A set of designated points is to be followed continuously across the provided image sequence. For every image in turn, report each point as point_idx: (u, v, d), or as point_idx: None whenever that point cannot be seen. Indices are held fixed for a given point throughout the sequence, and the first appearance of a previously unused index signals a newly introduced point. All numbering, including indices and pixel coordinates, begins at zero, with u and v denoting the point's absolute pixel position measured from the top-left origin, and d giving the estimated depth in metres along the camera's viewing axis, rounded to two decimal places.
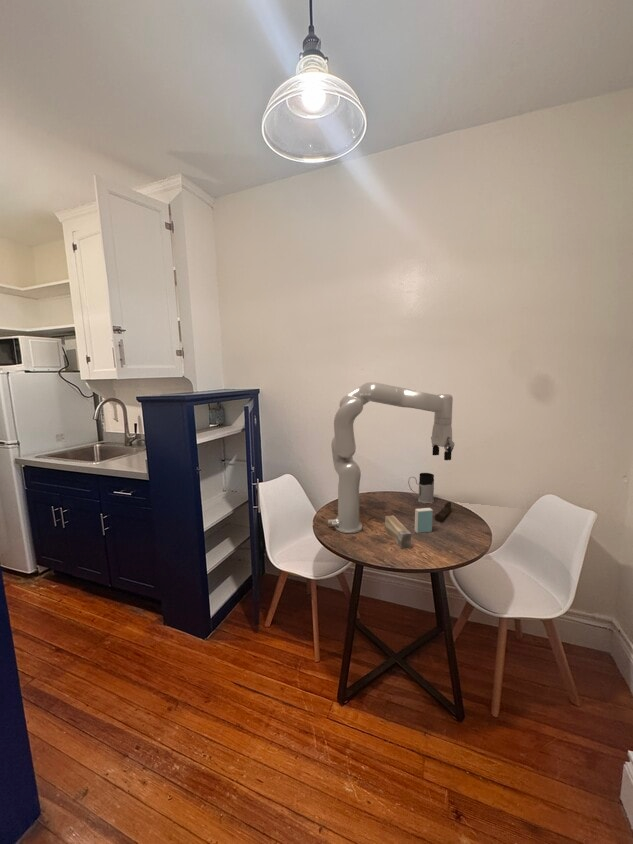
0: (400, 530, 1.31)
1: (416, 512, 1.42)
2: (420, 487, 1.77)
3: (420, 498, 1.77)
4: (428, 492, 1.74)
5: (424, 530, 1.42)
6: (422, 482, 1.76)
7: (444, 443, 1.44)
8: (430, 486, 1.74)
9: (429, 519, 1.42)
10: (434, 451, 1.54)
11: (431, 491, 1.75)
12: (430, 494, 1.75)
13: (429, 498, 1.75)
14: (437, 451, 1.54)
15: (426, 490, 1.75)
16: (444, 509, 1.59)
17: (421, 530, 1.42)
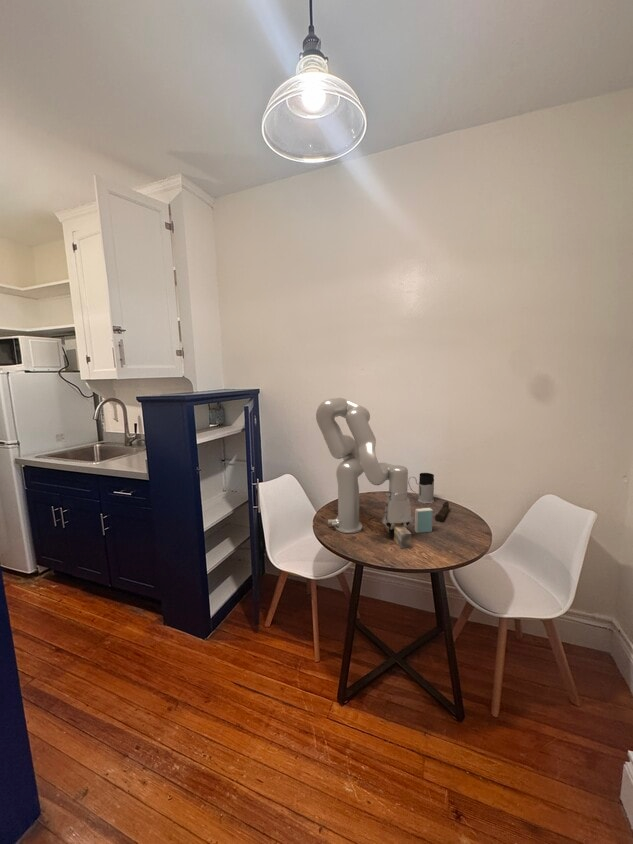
0: (400, 530, 1.31)
1: (416, 512, 1.42)
2: (420, 487, 1.77)
3: (420, 498, 1.77)
4: (428, 492, 1.74)
5: (424, 530, 1.42)
6: (422, 482, 1.76)
7: None
8: (430, 486, 1.74)
9: (429, 519, 1.42)
10: None
11: (431, 491, 1.75)
12: (430, 494, 1.75)
13: (429, 498, 1.75)
14: None
15: (426, 490, 1.75)
16: (443, 509, 1.59)
17: (421, 530, 1.42)
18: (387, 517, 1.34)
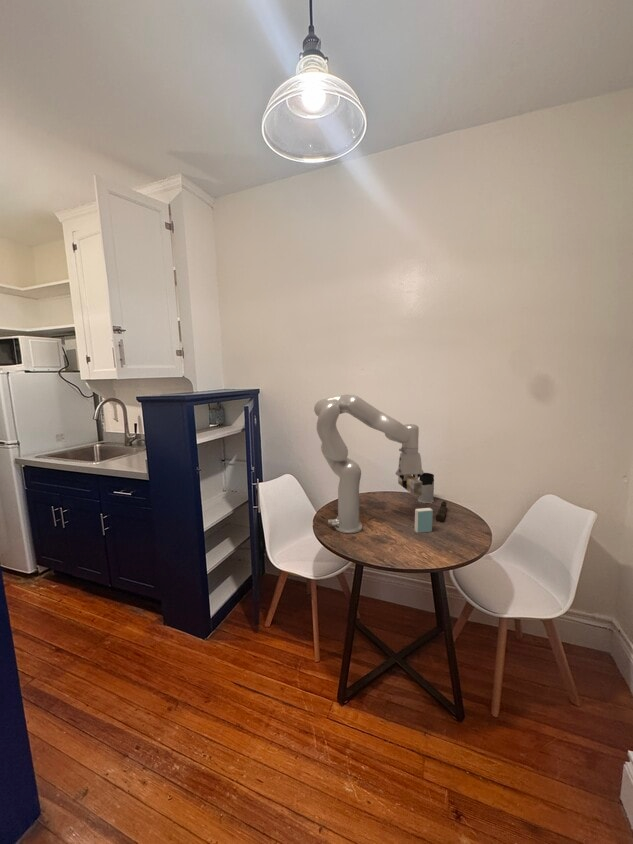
0: (412, 480, 1.49)
1: (416, 512, 1.42)
2: None
3: (420, 498, 1.77)
4: (428, 492, 1.74)
5: (424, 530, 1.42)
6: (422, 482, 1.76)
7: None
8: (430, 486, 1.74)
9: (429, 519, 1.42)
10: None
11: (431, 491, 1.75)
12: (430, 494, 1.75)
13: (429, 498, 1.75)
14: None
15: (426, 490, 1.75)
16: (442, 509, 1.59)
17: (421, 530, 1.42)
18: (400, 469, 1.52)
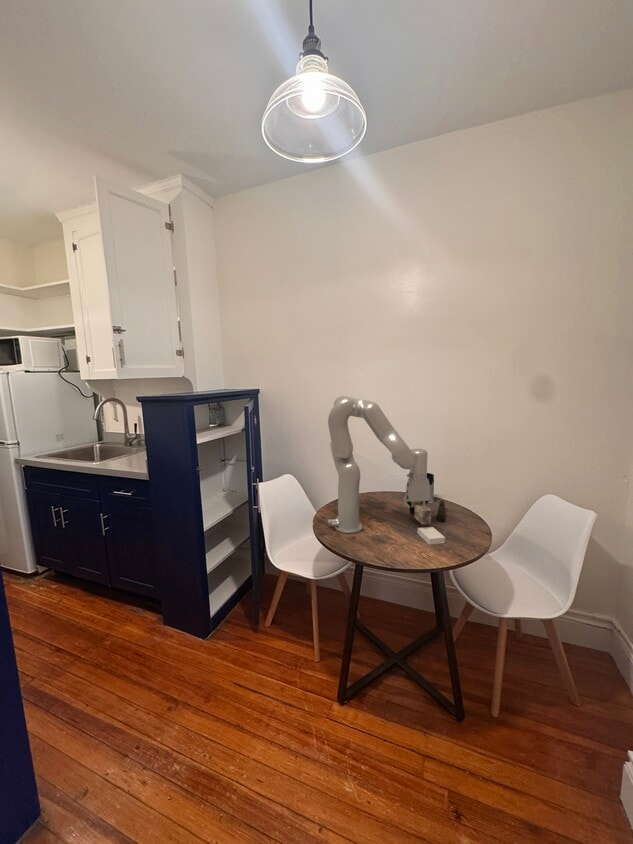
0: (421, 507, 1.43)
1: (427, 540, 1.33)
2: None
3: None
4: None
5: None
6: None
7: None
8: (430, 486, 1.74)
9: None
10: None
11: (431, 491, 1.75)
12: (430, 494, 1.75)
13: None
14: None
15: None
16: (441, 508, 1.59)
17: None
18: (408, 496, 1.46)
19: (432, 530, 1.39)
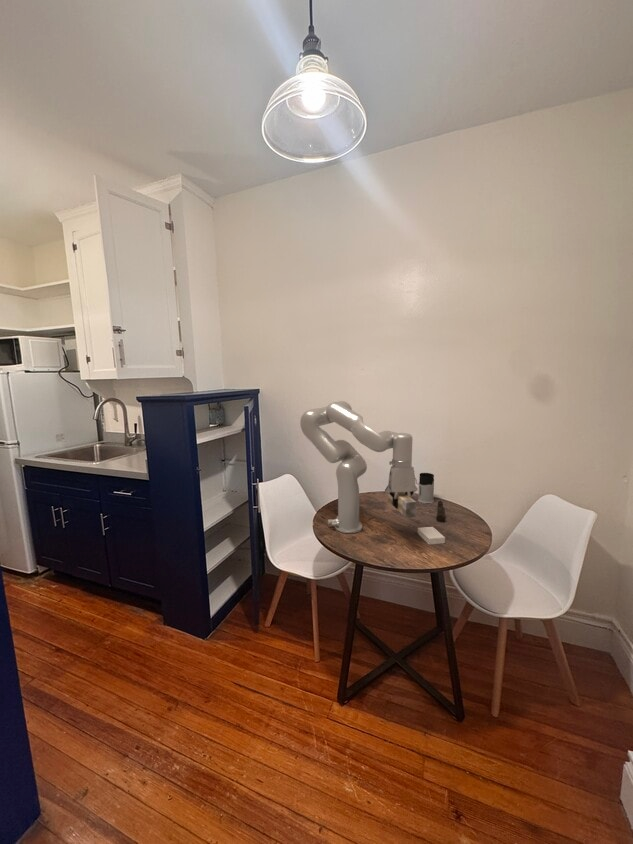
0: (404, 499, 1.26)
1: (427, 540, 1.33)
2: (420, 487, 1.77)
3: (420, 498, 1.77)
4: (428, 492, 1.74)
5: None
6: (422, 482, 1.76)
7: None
8: (430, 486, 1.74)
9: None
10: None
11: (431, 491, 1.75)
12: (430, 494, 1.75)
13: (429, 498, 1.75)
14: None
15: (426, 490, 1.75)
16: (440, 508, 1.59)
17: None
18: (391, 486, 1.29)
19: (432, 530, 1.39)
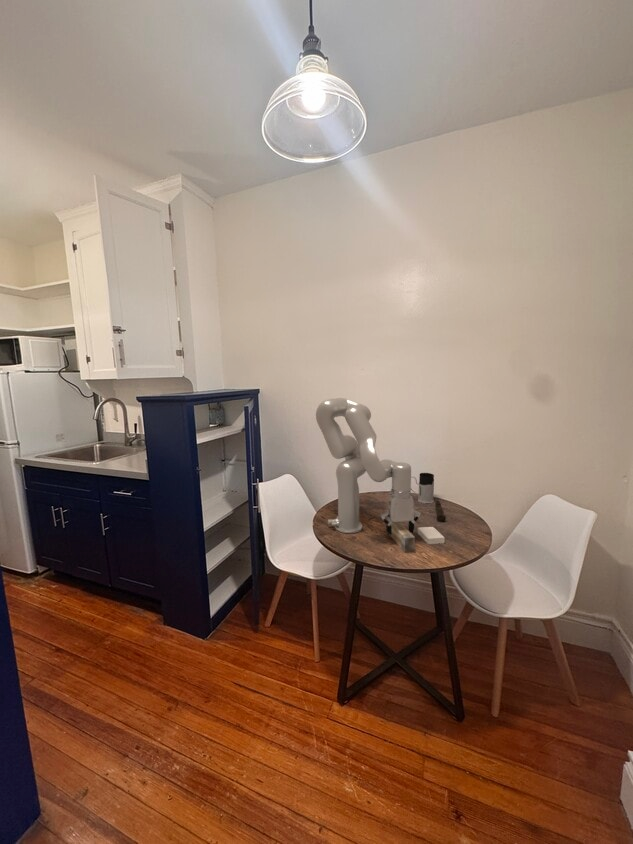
0: (403, 533, 1.28)
1: (427, 540, 1.33)
2: (420, 487, 1.77)
3: (420, 498, 1.77)
4: (428, 492, 1.74)
5: None
6: (422, 482, 1.76)
7: None
8: (430, 486, 1.74)
9: None
10: None
11: (431, 491, 1.75)
12: (430, 494, 1.75)
13: (429, 498, 1.75)
14: None
15: (426, 490, 1.75)
16: (439, 508, 1.60)
17: None
18: (390, 515, 1.31)
19: (432, 530, 1.39)
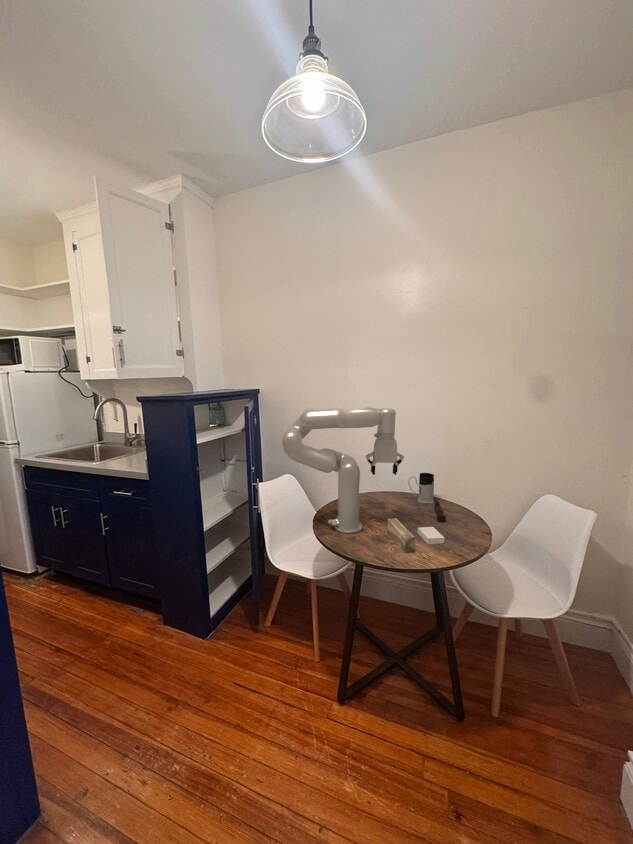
0: (403, 533, 1.28)
1: (426, 540, 1.33)
2: (420, 487, 1.77)
3: (420, 498, 1.77)
4: (428, 492, 1.74)
5: None
6: (422, 482, 1.76)
7: None
8: (430, 486, 1.74)
9: None
10: (374, 470, 1.43)
11: (431, 491, 1.75)
12: (430, 494, 1.75)
13: (429, 498, 1.75)
14: None
15: (426, 490, 1.75)
16: (439, 508, 1.60)
17: None
18: (374, 456, 1.41)
19: (432, 530, 1.39)
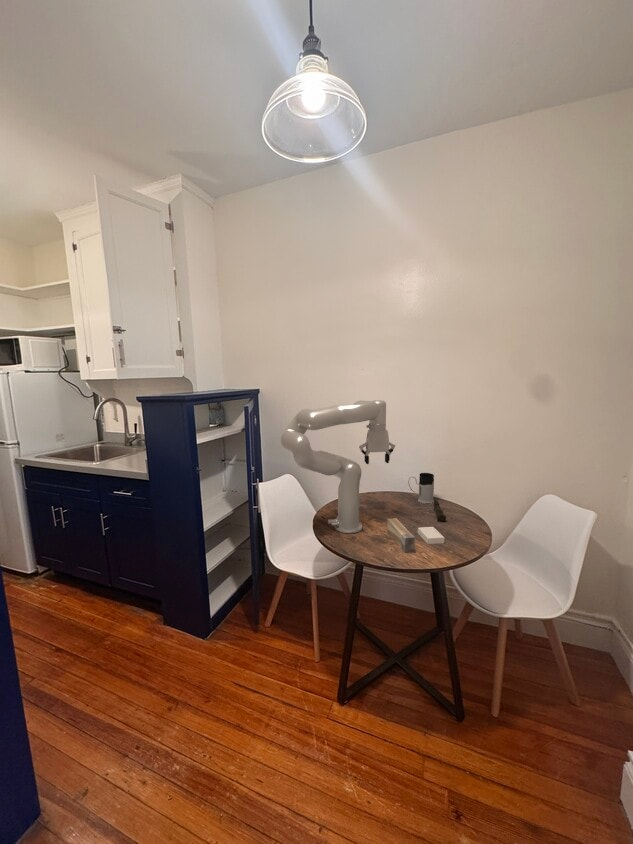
0: (403, 533, 1.28)
1: (426, 540, 1.33)
2: (420, 487, 1.77)
3: (420, 498, 1.77)
4: (428, 492, 1.74)
5: None
6: (422, 482, 1.76)
7: None
8: (430, 486, 1.74)
9: None
10: None
11: (431, 491, 1.75)
12: (430, 494, 1.75)
13: (429, 498, 1.75)
14: None
15: (426, 490, 1.75)
16: (438, 508, 1.60)
17: None
18: (367, 446, 1.48)
19: (432, 530, 1.39)
